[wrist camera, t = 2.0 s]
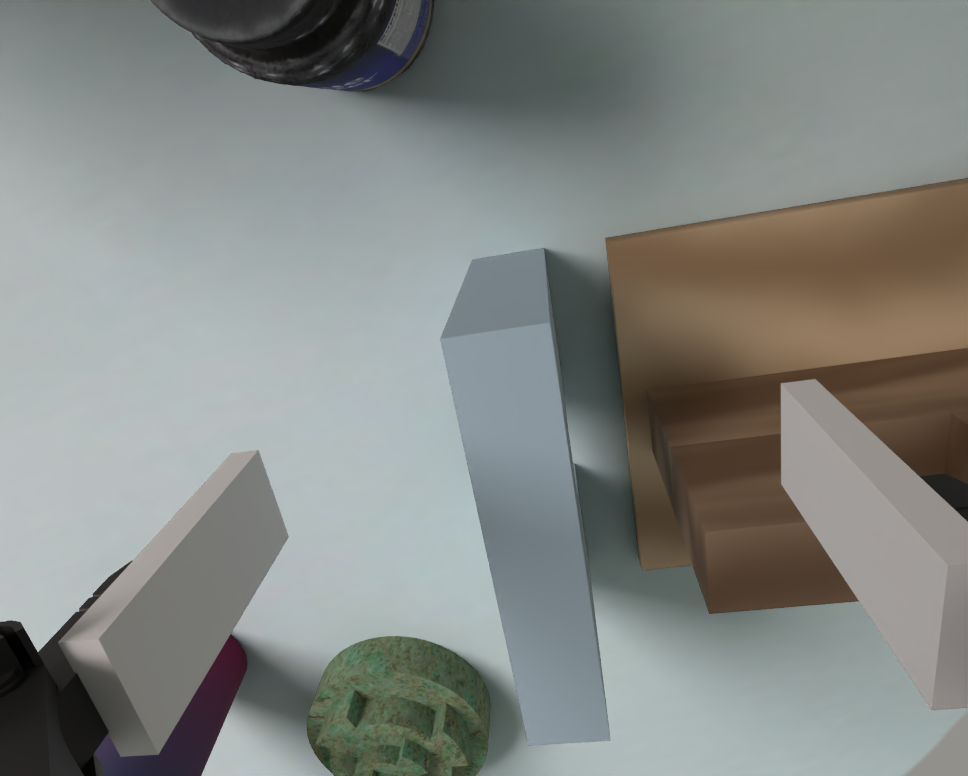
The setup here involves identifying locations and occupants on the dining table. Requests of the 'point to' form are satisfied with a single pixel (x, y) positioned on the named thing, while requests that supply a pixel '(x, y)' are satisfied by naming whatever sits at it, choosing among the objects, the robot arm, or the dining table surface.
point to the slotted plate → (527, 492)
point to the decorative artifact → (400, 711)
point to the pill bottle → (309, 38)
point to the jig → (783, 372)
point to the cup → (188, 725)
